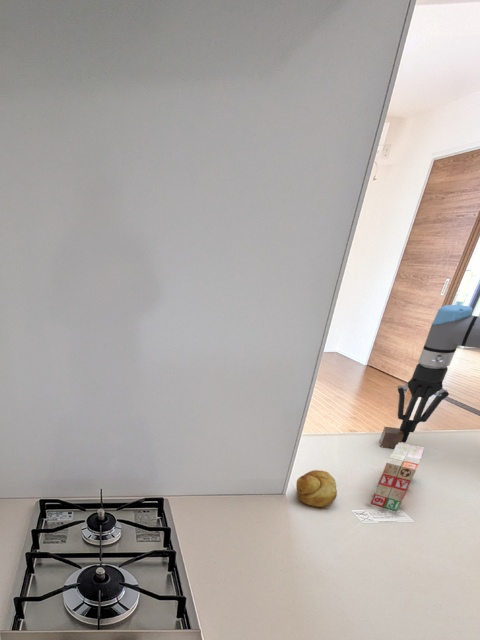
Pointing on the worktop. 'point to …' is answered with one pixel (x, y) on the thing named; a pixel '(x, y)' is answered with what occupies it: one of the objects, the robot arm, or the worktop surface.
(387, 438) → the walnut block
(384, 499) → the stack of blocks
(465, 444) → the worktop surface
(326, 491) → the bread roll
